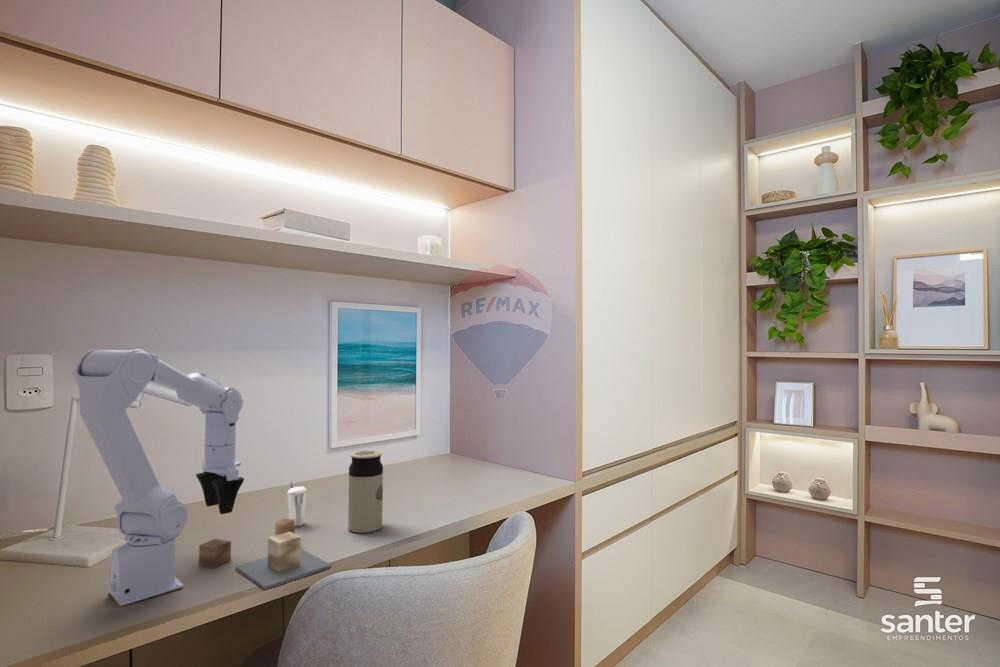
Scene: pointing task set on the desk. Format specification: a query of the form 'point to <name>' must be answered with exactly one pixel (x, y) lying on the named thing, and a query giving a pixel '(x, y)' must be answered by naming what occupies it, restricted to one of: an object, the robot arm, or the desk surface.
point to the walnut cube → (214, 553)
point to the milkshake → (297, 504)
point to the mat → (271, 578)
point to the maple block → (283, 551)
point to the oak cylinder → (284, 526)
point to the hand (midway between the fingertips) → (218, 509)
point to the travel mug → (365, 491)
